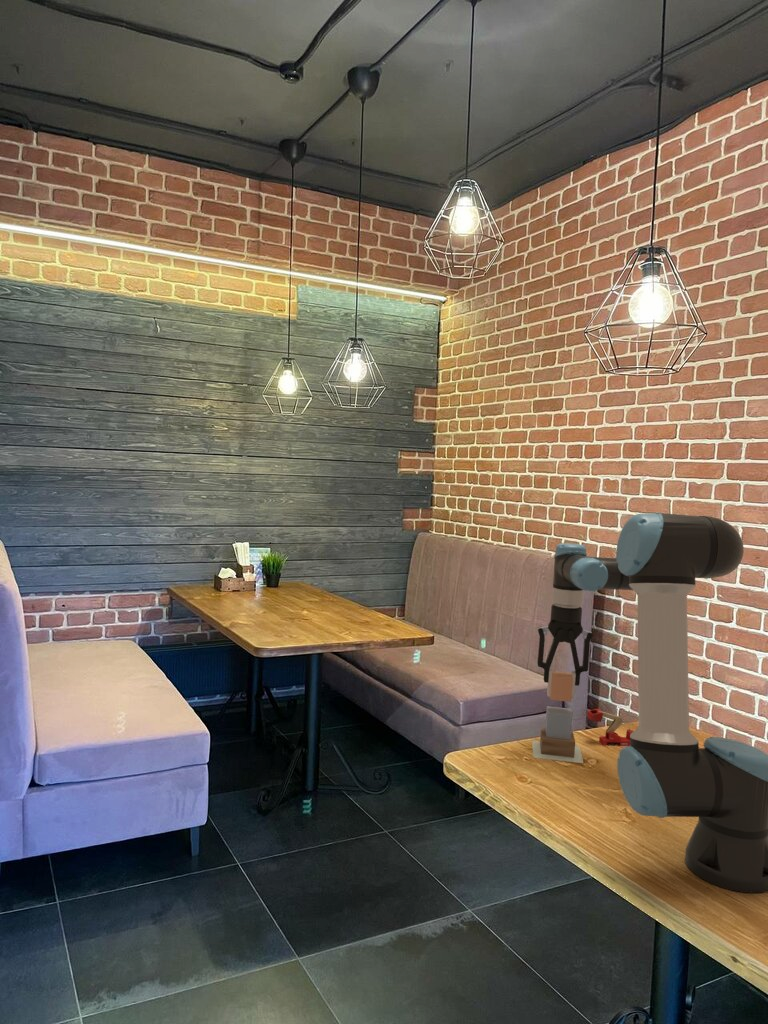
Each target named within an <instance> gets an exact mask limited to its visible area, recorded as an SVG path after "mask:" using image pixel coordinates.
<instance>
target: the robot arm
mask: <svg viewBox="0 0 768 1024" xmlns="http://www.w3.org/2000/svg"><path fill="white" fill-rule="evenodd" d="M615 553H616V554H615V556H616V557H598V556H588V555H587V547H586V546H585V545H584V544H581V543H580V544H577V543H571V542H570V543H565V542H562V543H558V544H557V545H556V546H555V551H554V557H553V559H554V565H553V577H552V593H551V603H552V605H551V608H550V621H549V623H548V624H547V625H545V626H538V627H537V632H538V635H539V636H538V637H539V640H538V651H537V666H538V667H539V668H541V669H543V681H544V683H546V684H547V687H546V688H547V691H546V694H547V695H546V696H547V697H548V698H550V697H551V682H552V671H553V668H551V666H552V663H553V660H554V658H555V654H556V653H557V652H556V651H557V649H558V646H559V643H567V644H569V645H570V650H571V655H572V661H573V666H574V670H571V674H572V677H573V682H572V697H571V700H575V689H576V688H575V687H576V686H577V687H578V686H580V680H581V673H583V672H588V671H589V665H590V664H589V662H590V661H589V660H590V645H591V640H592V638H593V635H594V634H593V633H592V631H590V630H586V629H583V626H582V614H583V608H582V607H581V606H583V601H584V591H588V592H597V591H599V590H608V591H609V590H610V591H612V590H615V591H619V590H623V591H633V592H635V594H636V595H637V671H638V672H637V675H638V676H637V680H638V682H637V686H638V687H637V688H638V689H637V690H638V695H637V697H638V698H637V699H638V704H637V705H638V726H637V728H636V729H635V730H633V731H634V732H633V733H631V734H630V746H624V747H622V748H621V749H620V751H619V753H618V756H617V763H616V764H617V775H618V780H619V785H620V787H621V790H622V793H623V796H624V798H625V799H626V802H627V803H628V805H629V806H630V807H631V809H632V810H633V811H635V813H637V814H639V815H641V816H645V817H658V818H660V819H664V818H671V817H672V818H674V817H675V818H681V817H682V818H683V817H684V818H689V817H690V818H695V817H696V818H698V821H697V823H696V825H695V827H694V830H693V832H692V833H691V836H690V838H689V840H688V842H687V844H686V847H685V853H684V856H685V857H684V862H685V864H686V866H687V869H689V870H690V871H691V872H692V873H694V874H695V875H696V876H697V877H699V878H701V879H702V880H703V881H706V882H708V883H711V884H712V885H715V886H717V887H720V888H723V889H726V890H727V889H728V890H731V891H735V892H740V893H748V894H749V893H751V894H753V893H766V892H768V754H767V753H766V752H764V751H763V750H761V749H759V748H757V747H755V746H752V745H751V744H747V743H746V742H742V741H739V740H736V739H731V738H726V737H719V736H710V737H707V738H705V740H704V742H703V748H699V742H700V741H699V739H698V738H697V737H696V736H695V735H694V734H693V733H692V732H691V731H690V712H689V711H690V704H689V702H690V701H689V697H690V694H689V693H690V692H689V651H688V650H689V649H688V647H689V646H688V645H689V644H688V642H689V641H688V595H689V594H690V593H691V592H692V591H693V590H694V589H695V588H696V587H697V586H696V579H715V578H721V577H724V576H726V575H729V574H731V573H732V572H734V571H735V570H736V569H738V567H739V566H740V564H741V563H742V560H743V557H744V542H743V539H742V537H741V535H740V533H739V532H738V531H737V530H736V529H735V527H733V526H732V525H731V524H730V523H728V522H727V521H725V520H723V519H721V518H717V517H714V516H708V515H690V514H689V515H688V514H679V513H678V514H677V513H661V512H653V513H651V512H648V513H646V512H645V513H637V514H634V515H633V516H631V517H630V518H628V520H627V521H626V522H625V523H624V525H623V527H622V529H621V531H620V534H619V536H618V540H617V546H616V552H615ZM548 632H550V634H551V635H552V637H553V639H552V642H551V645H550V647H549V651H548V654H547V657H546V660H545V661H544V652H545V641H546V636H547V635H548ZM581 634H582V638H583V648H582V649H583V651H582V664H581V665H580V661H579V657H578V651H577V645H576V644H577V643H576V640H577V638H578V637H579V636H581Z"/></svg>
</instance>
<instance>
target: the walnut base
mask: <svg viewBox="0 0 768 1024" xmlns="http://www.w3.org/2000/svg"><path fill="white" fill-rule="evenodd" d="M539 738H540V739H539V740H540V741H539V742H540V747H541V754H546V755H554V756H563V757H572V758H574V754H575V746H576V739H575V734H574V731H573V730H571V740H568V739H559V738H550V737H546V732H545V727H540V737H539Z"/></svg>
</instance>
